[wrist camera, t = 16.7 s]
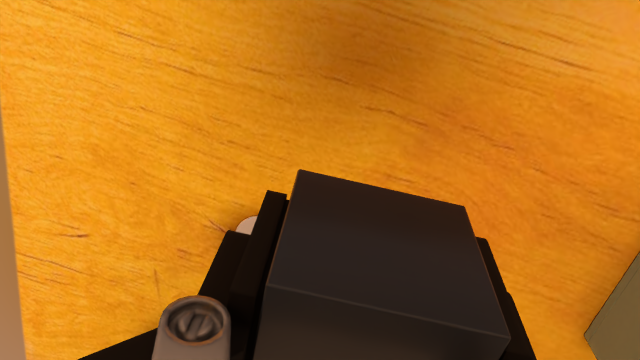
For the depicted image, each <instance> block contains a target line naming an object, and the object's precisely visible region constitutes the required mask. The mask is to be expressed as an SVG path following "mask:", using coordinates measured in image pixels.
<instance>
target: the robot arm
mask: <svg viewBox="0 0 640 360" xmlns="http://www.w3.org/2000/svg"><path fill="white" fill-rule="evenodd" d="M286 198H287V194H283V193H279V192H274V191H270V190H267V192H266V195H265V198H264V200H263V203H262V206H261V208H260V211H259V214H258V216H257V219H256V222H255V224H254V227H253V229H252V232H251V235H249V234H245V233H240V232H236V231H231V230H228V231H227V232H226V234H225V236H224V239H223V241H222V243H221V245H220V247H219V249H218V252H217V254H216V256H215V258H214V260H213V262H212V265H211V267H210V269H209V271H208V273H207V275H206V278H205V280H204V282H203V284H202V286H201V288H200V291H199V293H198V295H195V296H187V297H183V298H180V299H177V300H176V301H174V302H172V303H171V304H169V305H168V306H167V308H166V309H165V310H164V311H163V313H162V315H161V318H160V321H159V326H158V328H156V329H153V330H151V331H148V332H146V333H143V334H141V335H138V336H136V337H133V338H131V339H128V340H126V341H123V342H121V343H118V344H115V345H113V346H110V347H108V348H105V349H103V350H100V351H98V352H95V353H93V354H90V355H88V356H85V357H83V358H80V359H78V360H251V357H252V352H253V347H254V342H255V336H256V331H257V326H258V321H259V316H260V311H261V306H262V301H263V296H264V290H265V285H266V282H267V278H268V275H269V271H270V267H271V264H272V260H273V257H274V253H275V250H276V246H277V243H278V239H279V236H280V232H281V229H282V225H283V222H284V218H285V215H286V211H287V207H288V204H289V200H286ZM476 240H477V243H478V246H479V249H480V251H481V254H482V257H483V260H484V263H485V265H486V268H487V271H488V274H489V277H490V280H491V282H492V285H493V288H494V291H495V294H496V296H497V299H498V302H499V305H500V308H501V311H502V313H503V316H504V319H505V322H506V325H507V327H508V330H509V333H510V336H511V340H510V342H509V343H508V345H507V347H506V348H505V350H504V352H503V354H502V355H501V357H500V359H499V360H537V359H536V357H535V354H534V352H533V349H532V346H531V344H530V341H529V339H528V336H527V334H526V331H525V329H524V326H523V324H522V321H521V319H520V316H519V314H518V311H517V308H516V306H515V303H514V301H513V298H512V297H511V295H510V294H509V293H508V292H507V290H506V288H505V285H504V283H503V280H502V278H501V275H500V272H499V270H498V267H497V265H496V262H495V259H494V257H493V254H492V252H491V249H490V247H489V244H488V241H487V240H486V239H484V238H480V237H476Z"/></svg>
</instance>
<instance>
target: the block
mask: <svg viewBox="0 0 640 360" xmlns="http://www.w3.org/2000/svg"><path fill="white" fill-rule="evenodd" d="M510 340H511V336H510V333H509V330H508V327H507V325H506V322H505V319H504V316H503V313H502V311H501V308H500V305H499V302H498V299H497V296H496V294H495V291H494V288H493V285H492V282H491V280H490V277H489V274H488V271H487V268H486V265H485V263H484V260H483V257H482V254H481V251H480V249H479V246H478V243H477V240H476V237H475V234H474V232H473V229H472V226H471V223H470V220H469V217H468V215H467V212H466V209H465V207H464V206H461V205H456V204H452V203H448V202H443V201H439V200H434V199H430V198H425V197H421V196H416V195H412V194H408V193H403V192H399V191H394V190H390V189H385V188H381V187H377V186H372V185H368V184H363V183H359V182H354V181H350V180H345V179H341V178H337V177H332V176H328V175H323V174H319V173H314V172H310V171H306V170H301V169H299V170H298V172H297V176H296V179H295V183H294V186H293V190H292V193H291V197H290V200H289V204H288V207H287V211H286V215H285V218H284V222H283V225H282V229H281V232H280V236H279V239H278V243H277V246H276V250H275V253H274V257H273V260H272V264H271V267H270V271H269V275H268V278H267V282H266V285H265V290H264V296H263V301H262V306H261V311H260V316H259V321H258V326H257V331H256V336H255V342H254V347H253V352H252V357H251V360H499V359H500V357H501V355H502V354H503V352H504V350H505V348H506V347H507V345H508V343H509V342H510Z"/></svg>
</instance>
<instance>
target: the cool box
mask: <svg viewBox="0 0 640 360" xmlns="http://www.w3.org/2000/svg"><path fill="white" fill-rule="evenodd" d="M584 336H585V338H586V340H587V342H588V344H589V345H590V347H591V349H592V351H593V353H594V355H595V356H596V358H597V360H640V252H639V254H638V255H637V257H636V258H635V260H634V261H633V263H632V264H631V266H630V267H629V269H628V270H627V272H626V273H625V275H624V276H623V278H622V279H621V281H620V282H619V284H618V285H617V287H616V288H615V290H614V291H613V293H612V294H611V296H610V297H609V299H608V300H607V302H606V303H605V304H604V306H603V307H602V309H601V310H600V312H599V313H598V315H597V316H596V318H595V319H594V321H593V322H592V324H591V325H590V327H589V328H588V330H587V331H586V333H585V334H584Z"/></svg>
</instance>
